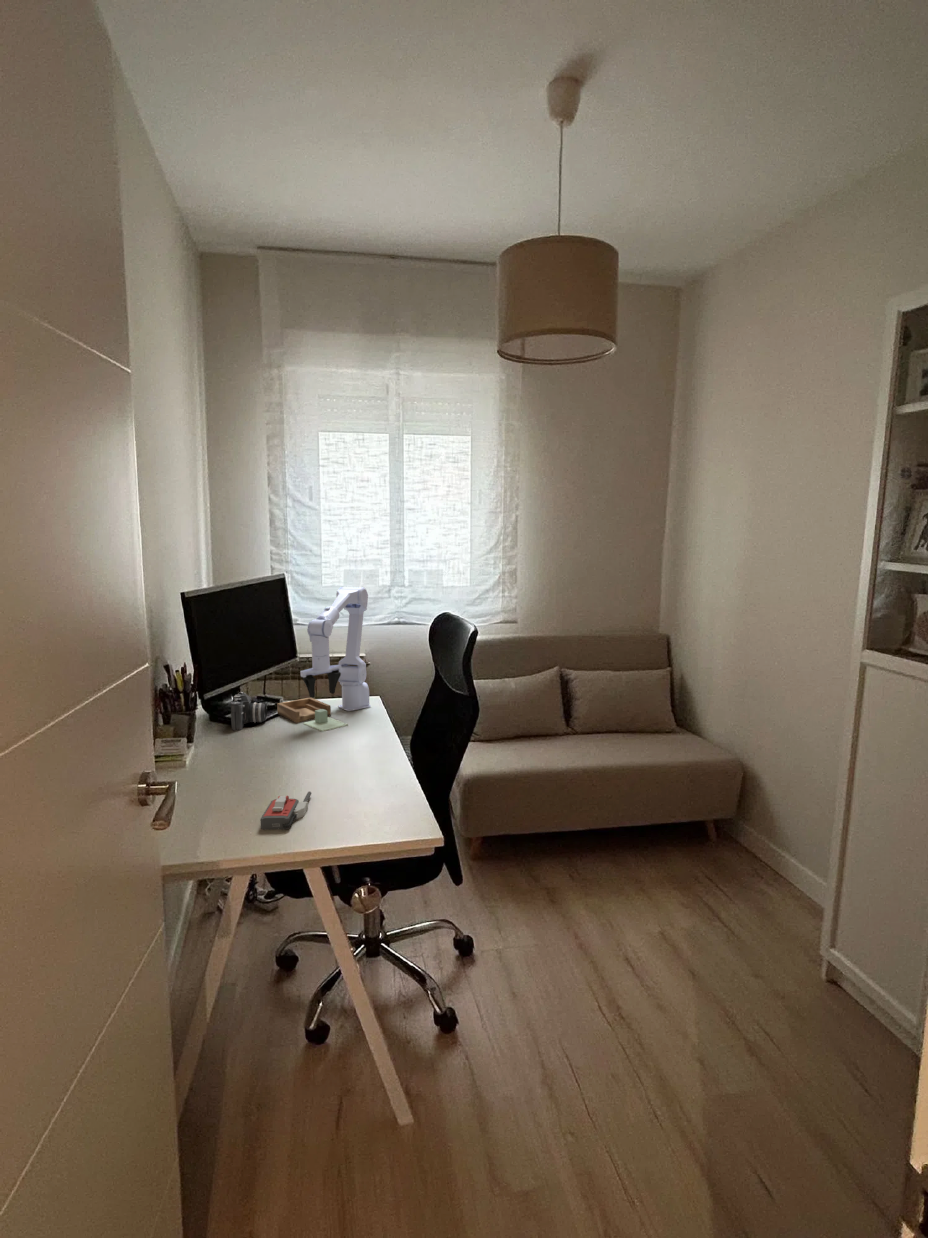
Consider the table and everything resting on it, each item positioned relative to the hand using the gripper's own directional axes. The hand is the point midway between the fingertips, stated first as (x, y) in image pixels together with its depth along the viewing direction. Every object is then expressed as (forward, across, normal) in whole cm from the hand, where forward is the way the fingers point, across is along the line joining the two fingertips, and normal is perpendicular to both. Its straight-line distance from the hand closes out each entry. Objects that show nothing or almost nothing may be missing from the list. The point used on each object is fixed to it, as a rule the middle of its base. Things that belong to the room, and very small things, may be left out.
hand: (322, 695), depth 241 cm
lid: (+10, 0, +2) cm, 11 cm away
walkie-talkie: (+10, +45, +59) cm, 75 cm away
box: (+10, -1, -14) cm, 17 cm away
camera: (+10, +18, -17) cm, 27 cm away
